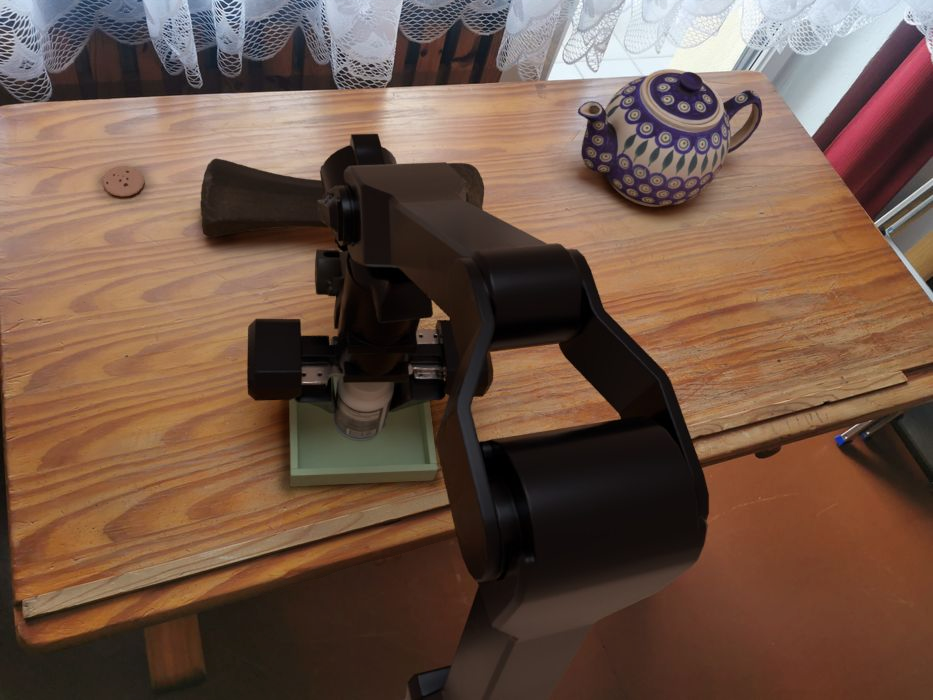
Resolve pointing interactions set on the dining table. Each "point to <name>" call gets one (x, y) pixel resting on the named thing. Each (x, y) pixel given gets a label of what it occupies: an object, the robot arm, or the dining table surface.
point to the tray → (360, 448)
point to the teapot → (664, 136)
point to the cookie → (123, 181)
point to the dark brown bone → (277, 198)
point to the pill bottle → (362, 408)
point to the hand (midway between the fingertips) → (361, 407)
